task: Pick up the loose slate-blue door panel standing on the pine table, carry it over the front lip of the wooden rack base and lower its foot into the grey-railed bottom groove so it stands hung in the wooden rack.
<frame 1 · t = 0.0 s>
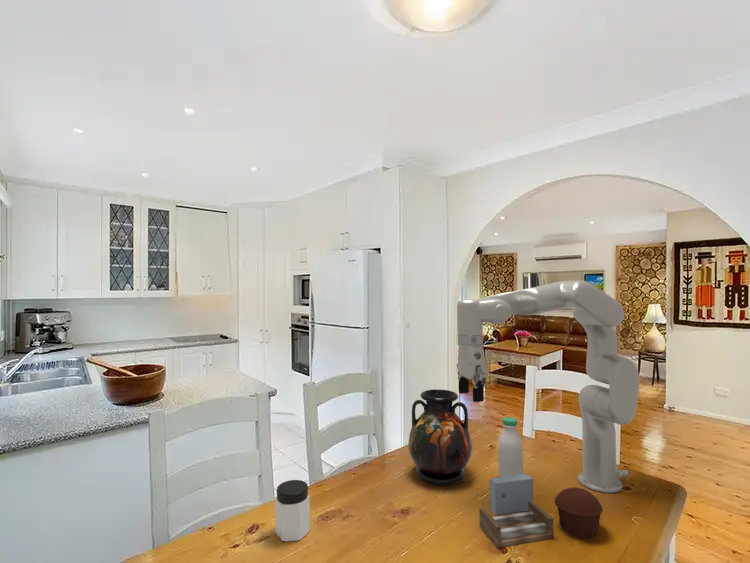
hand: (470, 397, 123), 31 cm above the table, tool pointing down, fingers open, 9 cm apart
door panel: (511, 509, 118), on the table
jar: (292, 533, 108), on the table
amphora vase: (440, 476, 140), on the table
milk bottle: (510, 479, 137), on the table
muffin: (578, 529, 108), on the table
wooden rack: (515, 532, 107), on the table
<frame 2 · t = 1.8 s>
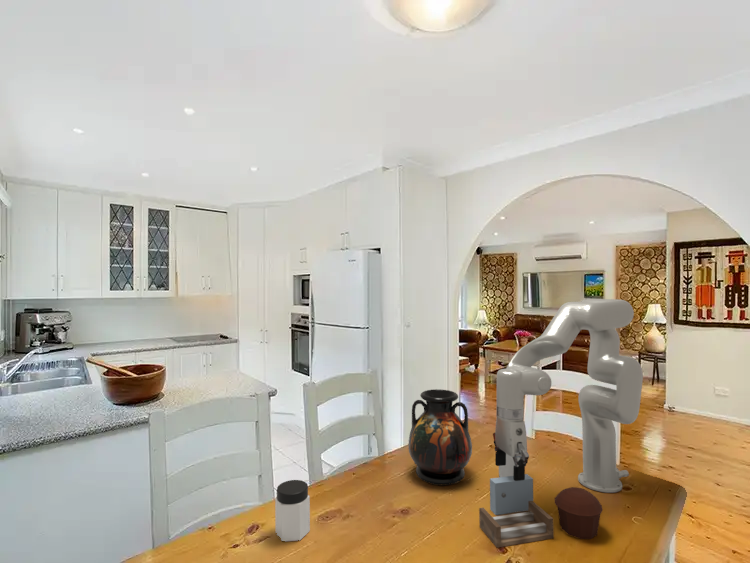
hand: (509, 472, 118), 11 cm above the table, tool pointing down, fingers open, 9 cm apart
nothing on the table moved.
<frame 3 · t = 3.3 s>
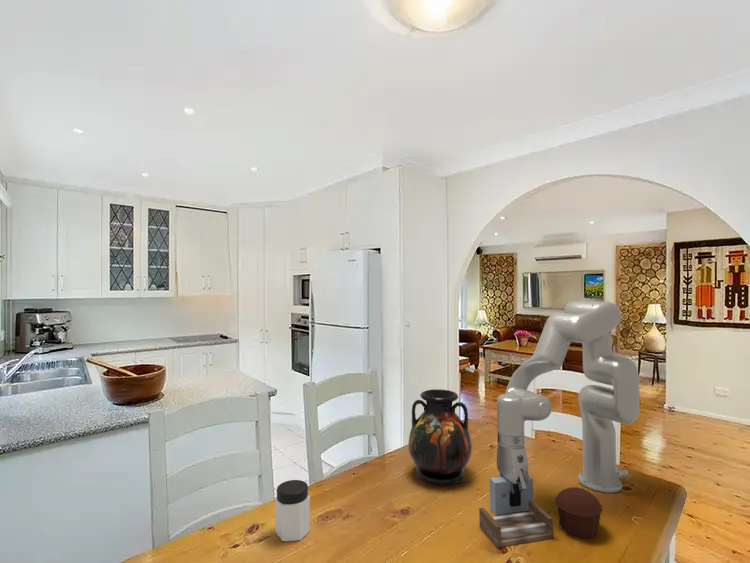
hand: (511, 501, 118), 2 cm above the table, tool pointing down, fingers closed on door panel, 3 cm apart
door panel: (511, 509, 118), on the table, touching gripper
everything else where it was.
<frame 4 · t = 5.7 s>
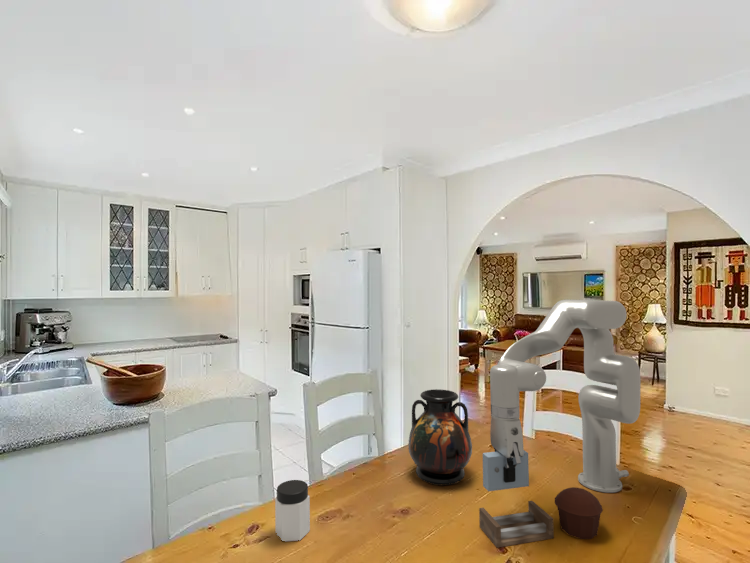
hand: (505, 477, 111), 12 cm above the table, tool pointing down, fingers closed on door panel, 3 cm apart
door panel: (505, 486, 111), point 10 cm above the table, touching gripper
everything else where it was.
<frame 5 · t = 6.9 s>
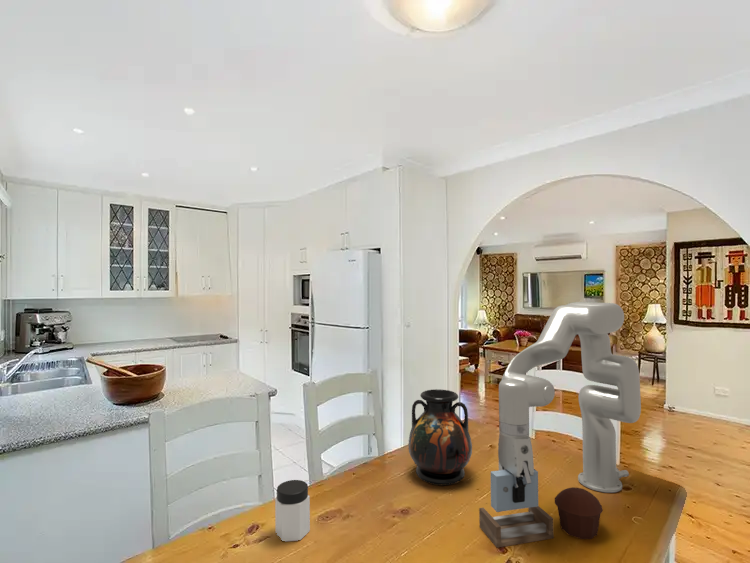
hand: (514, 497, 107), 9 cm above the table, tool pointing down, fingers closed on door panel, 3 cm apart
door panel: (514, 506, 107), point 7 cm above the table, touching gripper
everything else where it was.
when the fingers open (4 cm above the table, at t = 7.9 s): door panel stays where it is, resting on wooden rack.
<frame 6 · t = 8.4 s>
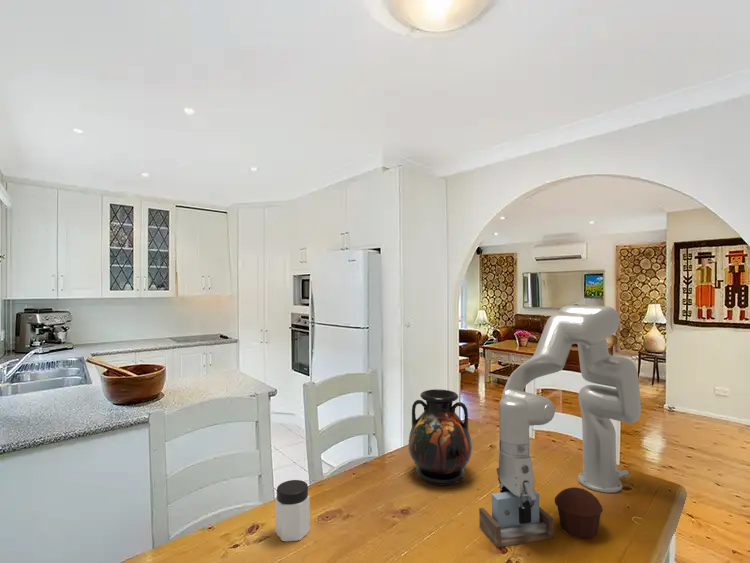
hand: (515, 513, 107), 5 cm above the table, tool pointing down, fingers open, 8 cm apart
door panel: (515, 528, 107), point 1 cm above the table, touching wooden rack
everything else where it was.
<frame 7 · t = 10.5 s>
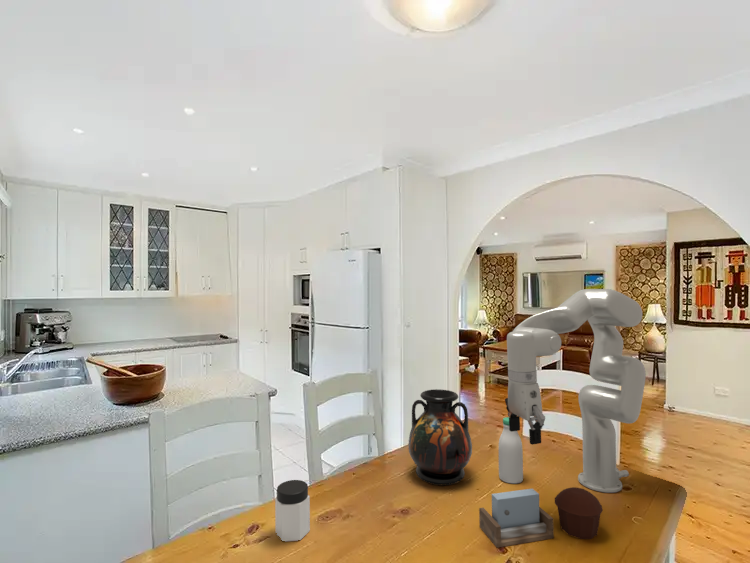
hand: (524, 436, 114), 22 cm above the table, tool pointing down, fingers open, 9 cm apart
nothing on the table moved.
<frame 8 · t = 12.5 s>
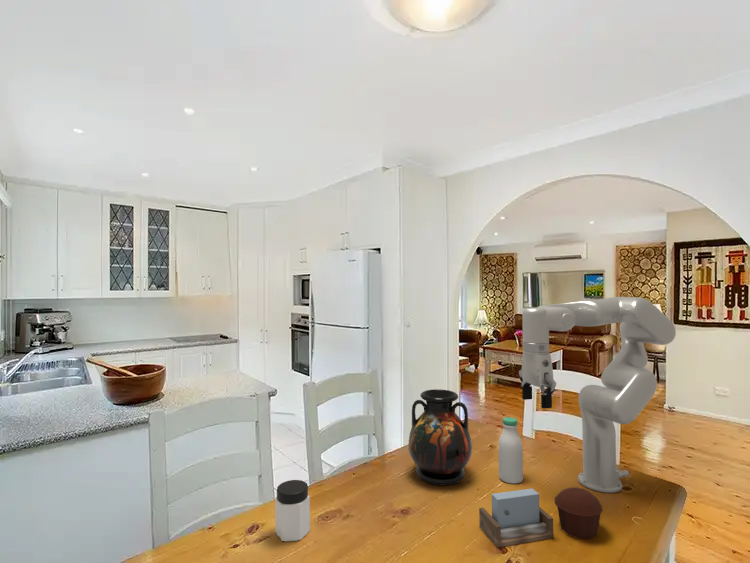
hand: (536, 403, 126), 28 cm above the table, tool pointing down, fingers open, 9 cm apart
nothing on the table moved.
at the end: door panel 0.1 cm off-centre on the wooden rack, point 1.0 cm above the wooden rack's base; door panel tilted 0°; the gripper is holding nothing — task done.
